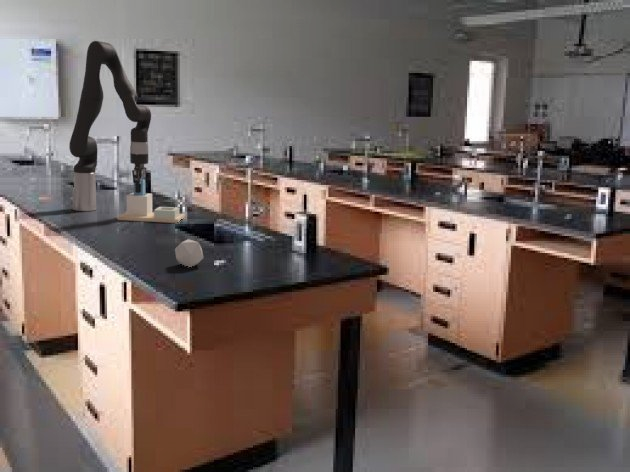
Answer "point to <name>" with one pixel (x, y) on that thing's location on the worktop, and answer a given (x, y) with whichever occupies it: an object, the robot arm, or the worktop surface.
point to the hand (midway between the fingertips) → (139, 191)
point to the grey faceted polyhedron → (189, 253)
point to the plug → (141, 188)
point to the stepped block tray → (148, 210)
